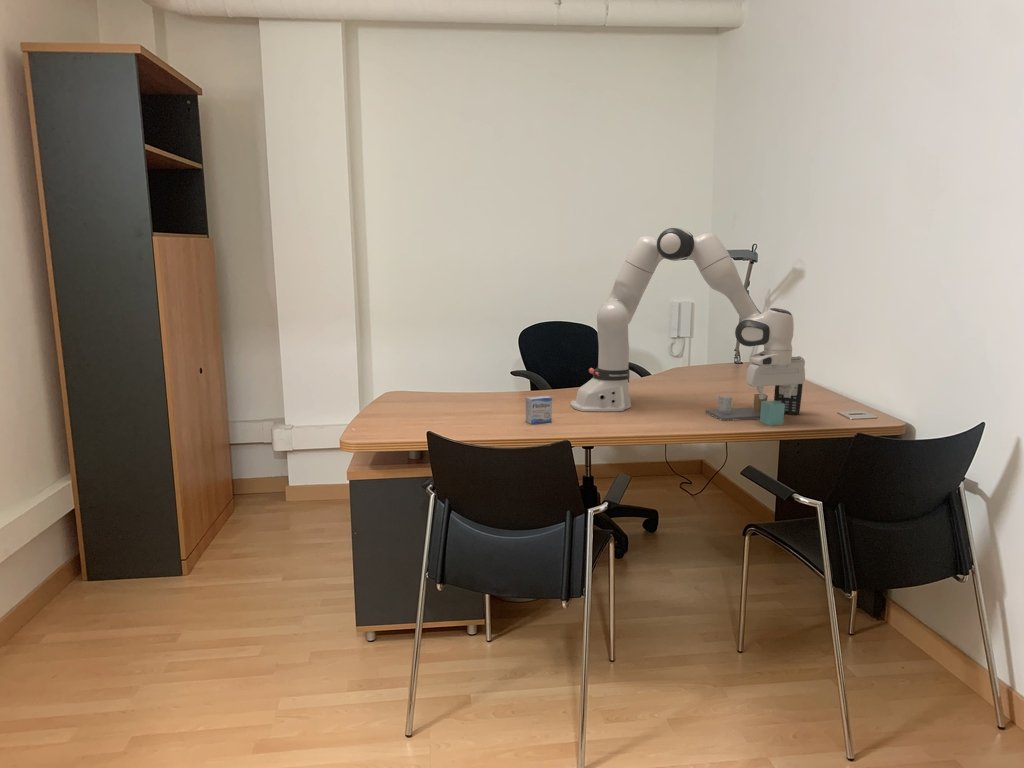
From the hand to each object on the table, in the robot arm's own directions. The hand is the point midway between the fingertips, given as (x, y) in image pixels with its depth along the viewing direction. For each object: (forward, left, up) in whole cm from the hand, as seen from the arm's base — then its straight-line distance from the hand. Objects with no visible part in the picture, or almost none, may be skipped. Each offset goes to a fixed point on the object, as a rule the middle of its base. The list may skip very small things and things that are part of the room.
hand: (774, 398), depth 242 cm
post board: (-4, +12, -9) cm, 16 cm away
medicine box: (-77, +18, -9) cm, 80 cm away
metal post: (-11, +12, -9) cm, 19 cm away
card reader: (+13, +11, -9) cm, 19 cm away
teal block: (0, 0, -9) cm, 9 cm away
